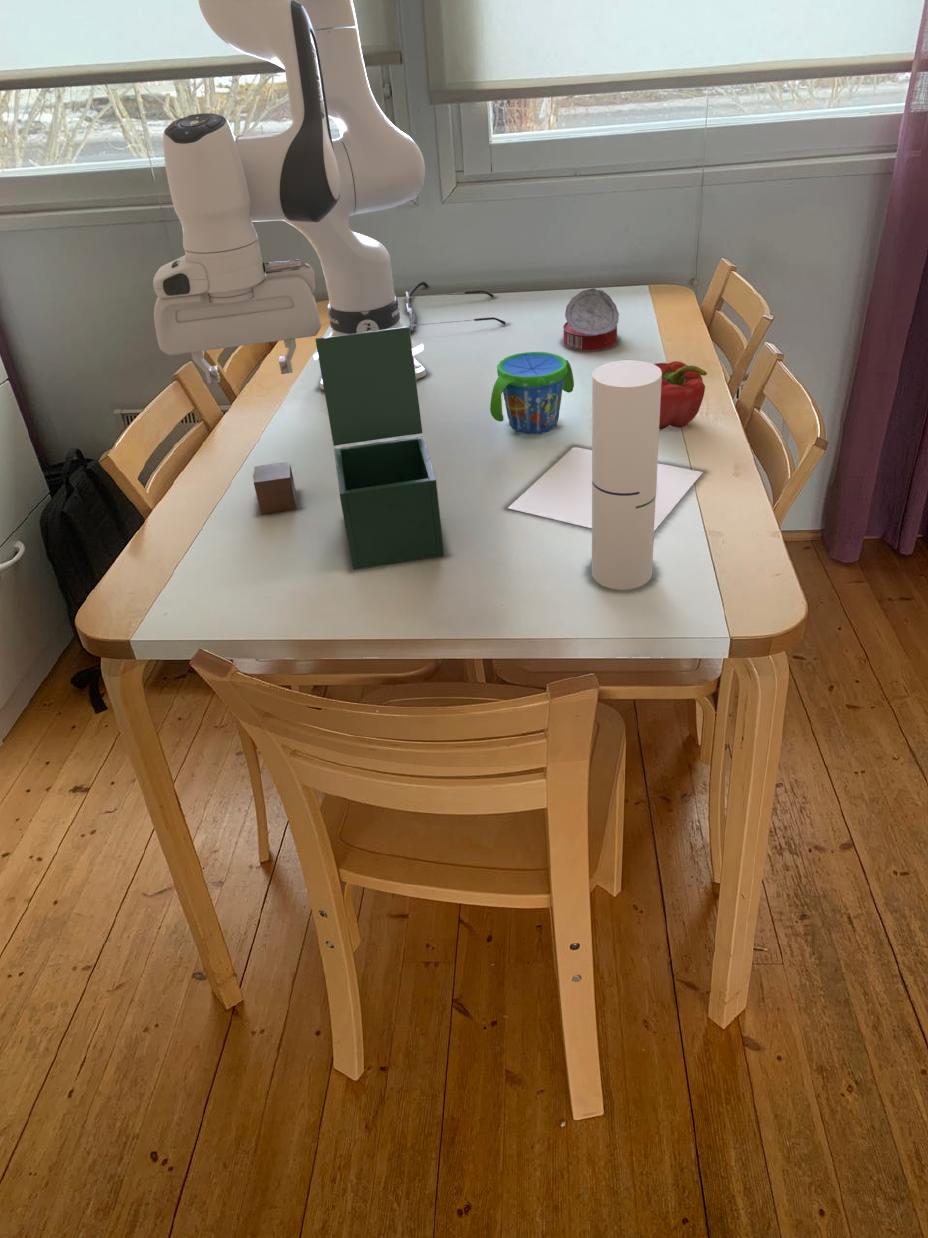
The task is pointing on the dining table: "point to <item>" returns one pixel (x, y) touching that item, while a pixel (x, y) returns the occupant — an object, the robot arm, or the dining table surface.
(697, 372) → the vegetable
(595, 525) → the cylindrical container
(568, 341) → the canned food
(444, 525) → the dining table surface
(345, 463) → the dark green hollow box
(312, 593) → the dining table surface
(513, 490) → the dining table surface
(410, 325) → the eyeglasses
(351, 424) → the tin lid
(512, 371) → the snack cup
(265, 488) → the block
